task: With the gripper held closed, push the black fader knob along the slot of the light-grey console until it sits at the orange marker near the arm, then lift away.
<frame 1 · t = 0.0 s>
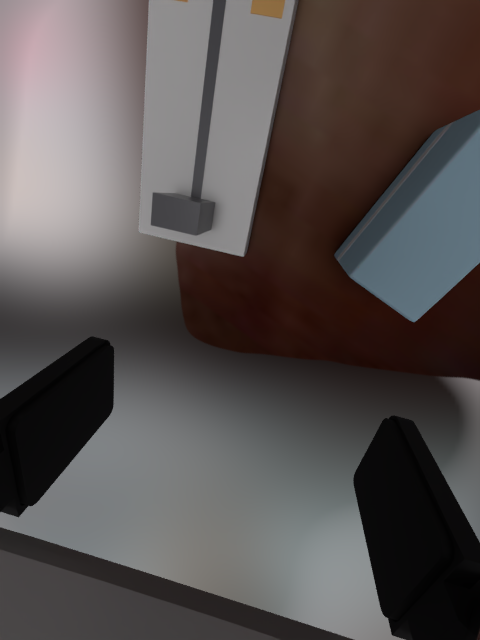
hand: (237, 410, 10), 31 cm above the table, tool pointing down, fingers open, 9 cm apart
fader knob: (184, 213, 32), point 6 cm above the table, slide at 0.0 cm
radio: (405, 220, 35), on the table
console: (212, 120, 33), on the table
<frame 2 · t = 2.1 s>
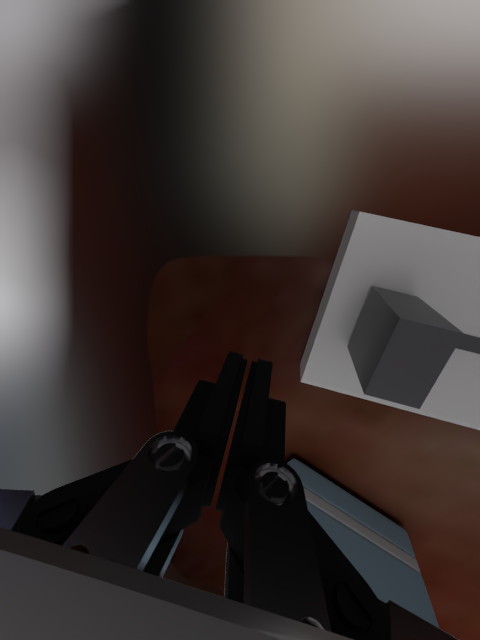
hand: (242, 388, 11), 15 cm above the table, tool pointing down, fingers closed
fader knob: (393, 341, 18), point 6 cm above the table, slide at 0.0 cm
radio: (323, 503, 34), on the table
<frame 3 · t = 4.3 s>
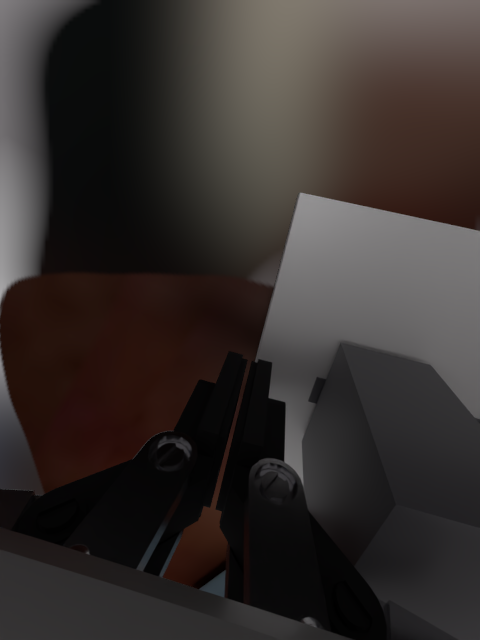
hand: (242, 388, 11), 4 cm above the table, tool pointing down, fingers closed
fader knob: (381, 473, 9), point 6 cm above the table, slide at 0.4 cm, touching gripper
radio: (286, 609, 25), on the table
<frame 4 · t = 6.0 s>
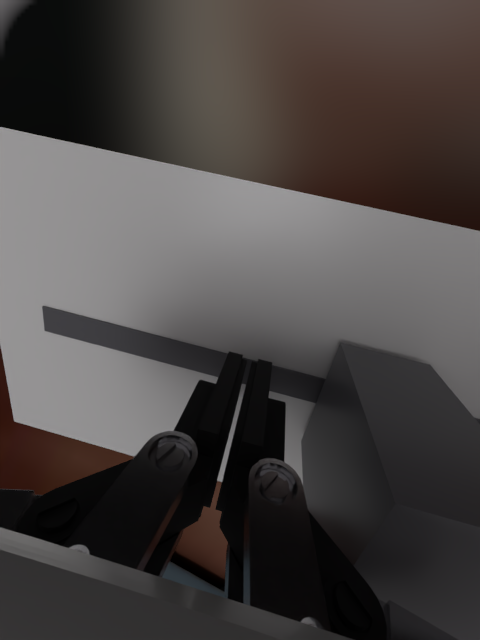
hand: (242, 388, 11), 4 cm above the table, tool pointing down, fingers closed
fader knob: (380, 473, 9), point 6 cm above the table, slide at 12.2 cm, touching gripper
radio: (155, 567, 26), on the table
console: (300, 350, 15), on the table
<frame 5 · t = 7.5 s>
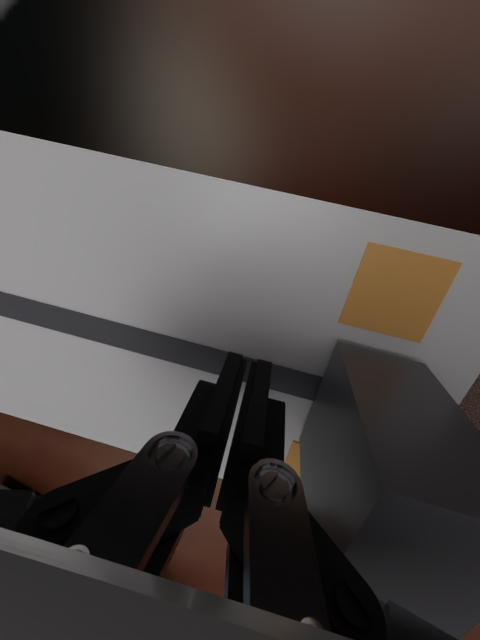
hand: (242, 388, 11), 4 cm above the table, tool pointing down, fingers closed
fader knob: (375, 468, 9), point 6 cm above the table, slide at 20.2 cm, touching gripper
console: (153, 311, 15), on the table
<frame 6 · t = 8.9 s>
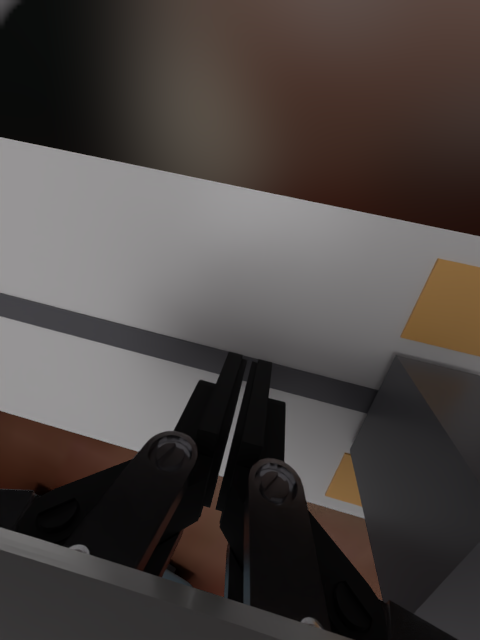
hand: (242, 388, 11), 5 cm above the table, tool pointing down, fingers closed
fader knob: (446, 484, 9), point 6 cm above the table, slide at 20.1 cm
console: (198, 323, 15), on the table
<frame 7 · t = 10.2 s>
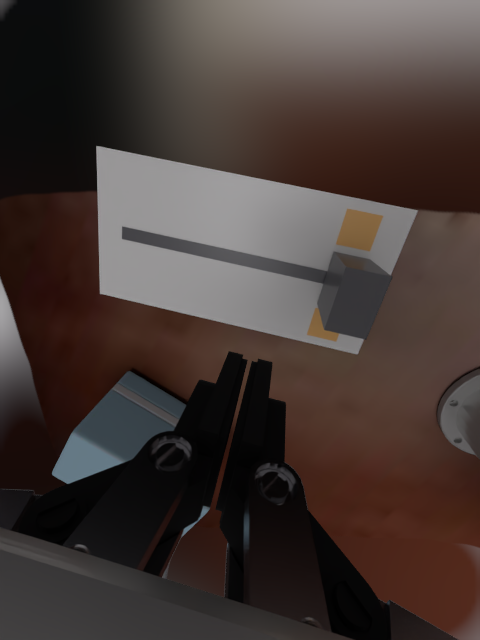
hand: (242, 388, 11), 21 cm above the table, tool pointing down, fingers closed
fader knob: (348, 292, 23), point 6 cm above the table, slide at 20.1 cm
radio: (169, 415, 41), on the table
console: (241, 252, 30), on the table
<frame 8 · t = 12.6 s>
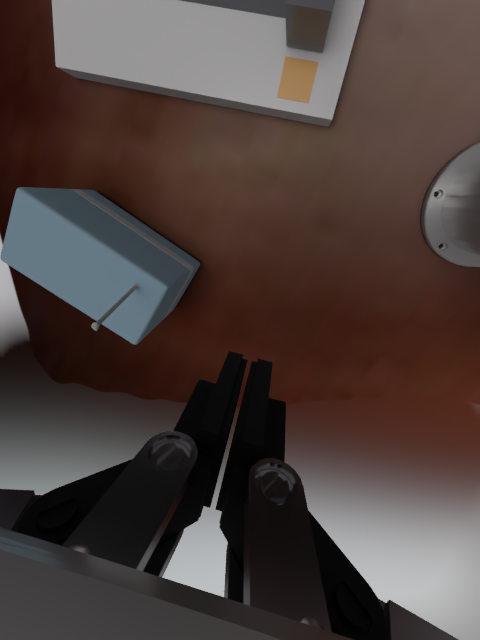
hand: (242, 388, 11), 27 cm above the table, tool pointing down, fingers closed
radio: (139, 254, 39), on the table
console: (207, 14, 28), on the table
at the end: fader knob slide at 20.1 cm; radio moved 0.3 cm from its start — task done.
